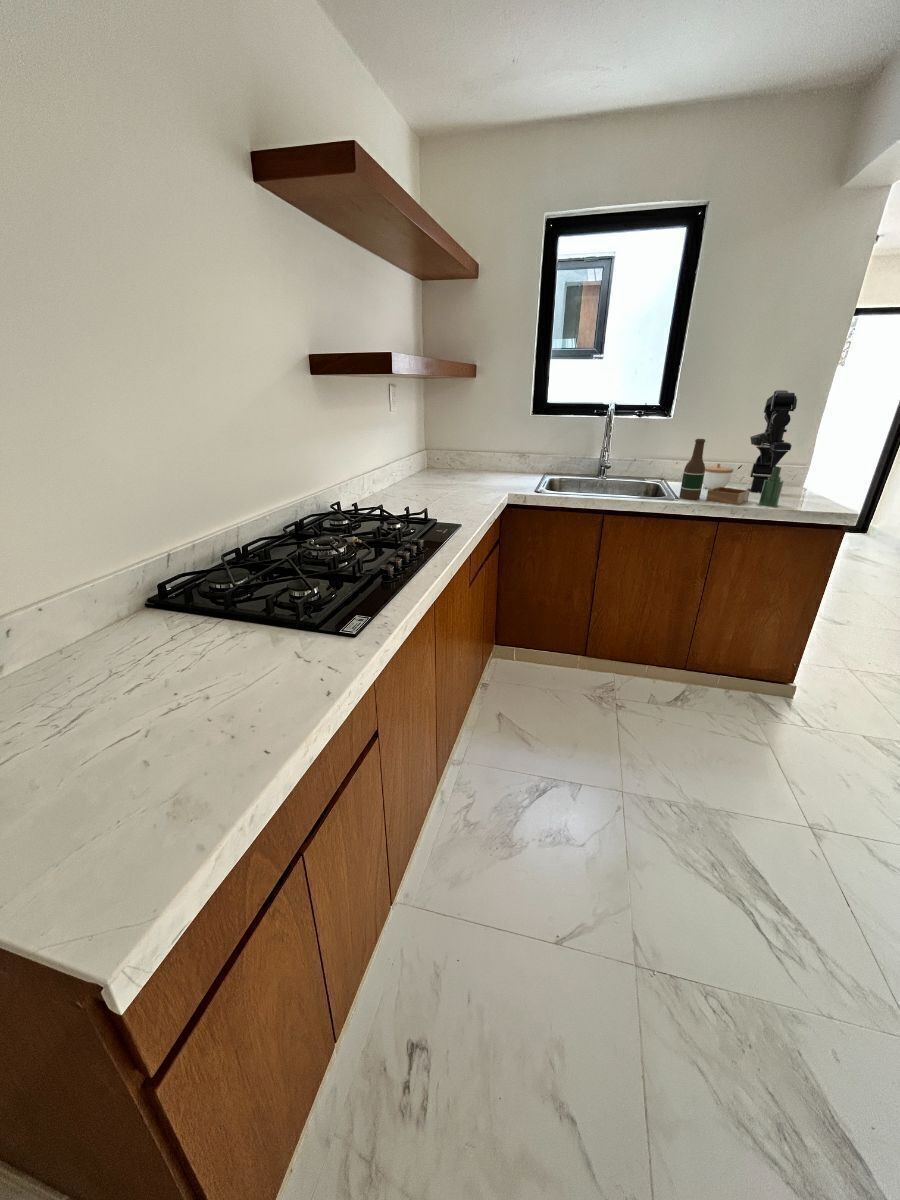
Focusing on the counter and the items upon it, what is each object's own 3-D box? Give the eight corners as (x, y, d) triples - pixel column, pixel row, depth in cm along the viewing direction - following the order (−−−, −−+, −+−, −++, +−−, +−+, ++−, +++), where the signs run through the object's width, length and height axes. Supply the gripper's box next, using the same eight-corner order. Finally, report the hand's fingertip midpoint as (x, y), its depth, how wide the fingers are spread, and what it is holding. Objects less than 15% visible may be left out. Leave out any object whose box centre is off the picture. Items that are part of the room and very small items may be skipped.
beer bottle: (698, 498, 209) (710, 438, 200) (700, 501, 203) (712, 440, 193) (678, 496, 212) (689, 437, 202) (679, 500, 205) (690, 439, 196)
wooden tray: (717, 497, 211) (719, 486, 209) (747, 501, 203) (749, 490, 201) (705, 501, 204) (708, 490, 202) (736, 505, 196) (738, 494, 194)
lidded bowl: (734, 490, 225) (740, 465, 221) (706, 490, 225) (711, 465, 221) (721, 485, 237) (726, 461, 233) (694, 485, 237) (698, 461, 233)
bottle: (754, 504, 198) (763, 466, 192) (767, 503, 200) (777, 465, 194) (768, 508, 192) (778, 468, 186) (781, 507, 194) (791, 467, 188)
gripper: (746, 424, 210) (738, 462, 216) (765, 427, 193) (755, 468, 199) (775, 424, 208) (765, 463, 214) (796, 428, 191) (786, 469, 197)
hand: (767, 466), depth 206 cm, fingers open, 9 cm apart
